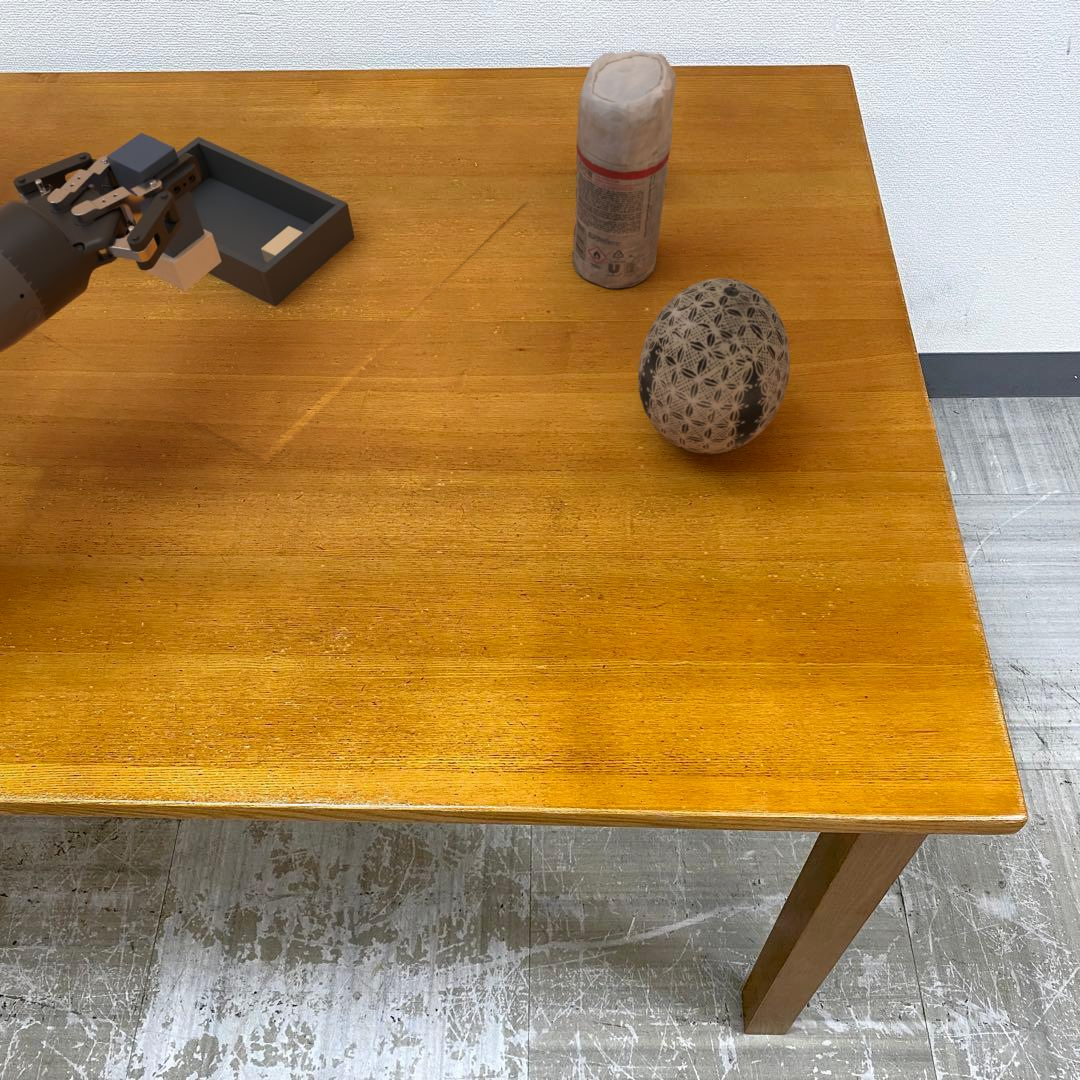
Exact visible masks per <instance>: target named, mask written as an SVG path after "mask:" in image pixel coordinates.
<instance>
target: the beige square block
mask: <svg viewBox="0 0 1080 1080" xmlns="http://www.w3.org/2000/svg"><path fill="white" fill-rule="evenodd" d="M302 233H303V232H301V231H299V230H297V229H295V228H292V227H290V226H288V227H287V228H285V229H284V230H283V231H282V232H281V233H279V234H278V235H277V236H276V237H274V238H273V239H272V240H271V241H270V242H268V243H267V244H266V245H265V246H264V247H262V248H261V250H262V254H263V257H264V260H265V262H268V261H270V260H271V259H272V258H273V257H274V256H275V255H277V254H278V253H279V252H280V251H281V250H283V249H284V248H285V247H286V246H287V245H289V244H290V243H291V242H292V241H293V240H295V239H296V238H297V237H298V236H299V235H301V234H302Z"/></svg>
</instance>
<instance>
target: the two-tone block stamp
mask: <svg viewBox="0 0 1080 1080" xmlns="http://www.w3.org/2000/svg"><path fill="white" fill-rule="evenodd" d="M150 136H151V135H148V134H146V133H144V132H140V133H139V134H136V135H135V137H133V138H131V139H130V140H128V141H127V142H126V143H124V144H123V145H121V146H120V147H118V148H117V149H115V150H114V151H113V152H111V153H109V154H108V155H106V156H107V159H108V161H109V164H110V166H111V169H112V171H113V173H114V176H115V178H116V181H117V183H118V185H119V188H120V187H126V188H128V189H132V188H134V187H136V186H138V185H140V184H142V183H144V182H146V181H148V180H150V179H154V177H153V176H154V175H156V174H157V173H158V172H160V171H161V170H163V169H164V168H165V167H167V166H168V165H170V164H171V163H172V162H174V161H175V160H177V159H178V156H177V153H176V152H177V150H176V148H175V147H174V146H172V145H169V144H168V143H165V142H163V141H161V140H159V139H157V138H155V137H153V136H151V137H150ZM152 137H153V138H152ZM154 138H155V139H154ZM156 139H157V140H156ZM151 203H152V202H151V199H150V197H149V198H147V199H145V200H143V201H141V202H140V204H139V206H140V209H141V210H142V209H144V208H146V207H148V206H149V205H150V204H151ZM175 203H176V206H177V209H178V211H179V214H180V217H181V219H182V225H181V226H180V228H179V229H178V231H177V232H176V234H175V235H174V237H173V238H172V240H171V241H170V243H169V244H168V246H167V247H166V249H165V250H164V252H163V254H162V255H161V257H160V258H159V260H158V261H157V263H156V264H155V266H154V267H153V268H152V269H150V270H146V273H148V274H150V275H152V276H154V277H156V278H158V279H160V280H161V281H164V282H166V283H167V284H170V285H171V286H173V287H175V288H178V289H179V290H181V291H183V292H186V291H187V290H189V289H190V288H191V287H192V286H194V285H195V284H196V283H197V282H199V281H200V280H201V279H202V278H203V277H205V276H206V275H207V274H209V273H208V272H209V271H211V270H212V269H213V268H214V267H216V266H217V265H218V264H219V263H221V258H220V255H219V252H218V249H217V247H216V244H215V241H214V238H213V235H212V233H210V232H208V231H206V230H204V229H203V227H202V224H201V222H200V219H199V216H198V213H197V210H196V207H195V204H194V202H193V199H192V196H191V193H190V191H188V192H187V193H186V194H185V195H183V196H182V197H181V198H179V199H178V200H177V201H175Z"/></svg>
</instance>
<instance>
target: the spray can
mask: <svg viewBox="0 0 1080 1080" xmlns="http://www.w3.org/2000/svg"><path fill="white" fill-rule="evenodd" d="M676 87H677V74H676V72H675V70H674V69H673V67H672V66H671V64H670V62H669V61H668V59H667V58H666V56H664V55H663V54H661V53H658V52H645V51H640V50H635V49H632V50H630V51H627V52H625V51H624V52H618V53H615V52H613V51H611V52H605V53H604V52H603V54H602V55H601V56H599V57H598V58H596V59H595V60H594V61H592V62H591V64H590V65H589V69H588V72H587V74H586V76H585V79H584V82H583V84H582V87H581V90H580V93H579V99H578V105H579V106H578V108H577V129H576V175H575V180H576V185H575V224H574V229H573V251H572V252H571V259H572V264H573V268H574V270H575V271H576V273H577V274H578V275H580V277H582V279H585V280H587V281H589V282H591V283H593V284H595V285H598V286H601V287H604V288H607V289H621V288H622V289H624V288H631V287H633V286H637V285H639V284H640V283H642V282H643V281H645V280H646V279H647V278H649V277H650V275H652V273H653V272H654V271H655V269H656V265H657V264H656V263H657V257H658V252H657V250H658V245H659V237H660V231H661V224H662V214H663V205H664V200H665V192H666V183H667V176H668V169H669V168H668V167H669V158H670V152H671V149H672V141H673V123H674V106H675V95H676Z"/></svg>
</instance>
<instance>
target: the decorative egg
mask: <svg viewBox="0 0 1080 1080" xmlns="http://www.w3.org/2000/svg"><path fill="white" fill-rule="evenodd" d="M640 352H641V353H640V357H639V363H638V371H637V377H638V378H637V383H638V393H639V398H640V401H641V405H642V407H643V410H644V413H645V415H646V416H647V418H648V420H649V421H650V423H651V424H652V426H653V427H654V429H655V430H656V431H657V433H659V434H660V435H661V437H663V438H664V439H665V440H666V441H668V442H669V443H671V444H672V445H674V446H676V447H678V448H680V449H683V450H685V451H687V452H691V453H696V454H705V455H715V454H716V455H717V454H722V453H728V452H730V451H733V450H736V449H739V448H741V447H743V446H745V445H747V444H748V443H750V442H751V441H752V440H754V439H755V438H756V437H758V436H759V435H760V434H761V433H762V432H763V431H764V430H765V429H766V428H767V427H768V426H769V424H770V423H771V422H772V420H773V419H774V417H775V416H776V414H777V412H778V411H779V409H780V407H781V405H782V402H783V400H784V398H785V394H786V392H787V387H788V384H789V378H790V372H791V371H790V370H791V369H790V368H791V354H790V353H791V352H790V342H789V338H788V334H787V330H786V327H785V324H784V322H783V320H782V318H781V315H780V314H779V313H778V311H777V309H776V308H775V306H774V304H773V303H772V302H771V301H770V300H769V299H768V297H767V296H765V295H764V293H762V292H761V291H760V290H758V289H757V288H755V287H754V286H752V285H751V284H749V283H746V282H745V281H742V280H739V279H733V278H729V277H727V278H725V277H722V278H720V277H717V278H710V279H705V280H702V281H699V282H696V283H694V284H692V285H690V286H688V287H686V288H685V289H683V290H682V291H680V292H678V293H677V294H675V296H674V297H672V298H671V299H670V300H669V301H668V302H667V303H666V304H665V305H664V307H662V309H661V310H660V311H659V312H658V313H657V315H656V317H655V319H654V321H653V323H652V324H651V326H650V329H649V331H648V332H647V334H646V337H645V340H644V342H643V346H642V349H641V351H640Z"/></svg>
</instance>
